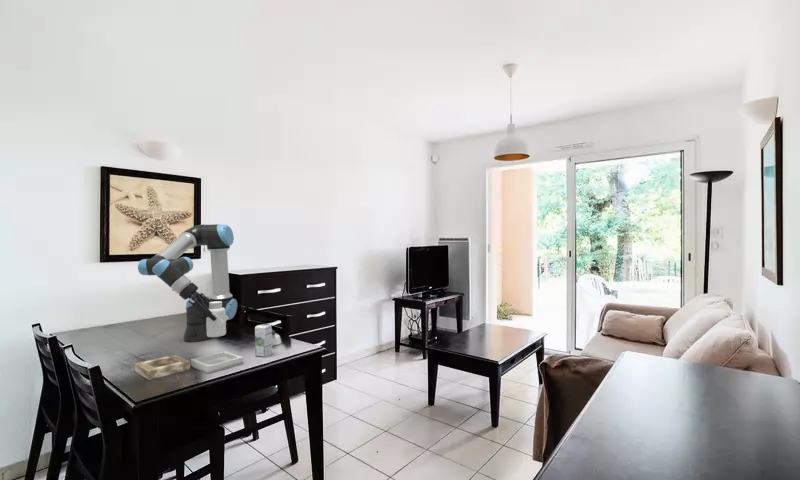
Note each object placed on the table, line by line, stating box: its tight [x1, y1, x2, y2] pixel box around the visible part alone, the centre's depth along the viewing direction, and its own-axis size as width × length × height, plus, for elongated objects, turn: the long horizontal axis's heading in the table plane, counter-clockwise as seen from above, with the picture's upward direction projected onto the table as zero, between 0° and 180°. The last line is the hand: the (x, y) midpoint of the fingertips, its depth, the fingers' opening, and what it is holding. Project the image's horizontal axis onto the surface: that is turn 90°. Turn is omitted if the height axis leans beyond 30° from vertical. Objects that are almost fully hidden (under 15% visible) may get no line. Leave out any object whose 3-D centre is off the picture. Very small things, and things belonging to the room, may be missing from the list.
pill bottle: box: [206, 301, 227, 338], centre depth 178 cm, size 8×8×15 cm
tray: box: [190, 350, 244, 375], centre depth 178 cm, size 16×16×3 cm
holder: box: [134, 354, 191, 381], centre depth 171 cm, size 16×16×4 cm
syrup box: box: [254, 324, 273, 358], centre depth 192 cm, size 6×6×14 cm
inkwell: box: [272, 329, 283, 347], centre depth 208 cm, size 9×18×10 cm, turn 13°
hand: (224, 322), depth 178 cm, fingers closed on pill bottle, 8 cm apart
